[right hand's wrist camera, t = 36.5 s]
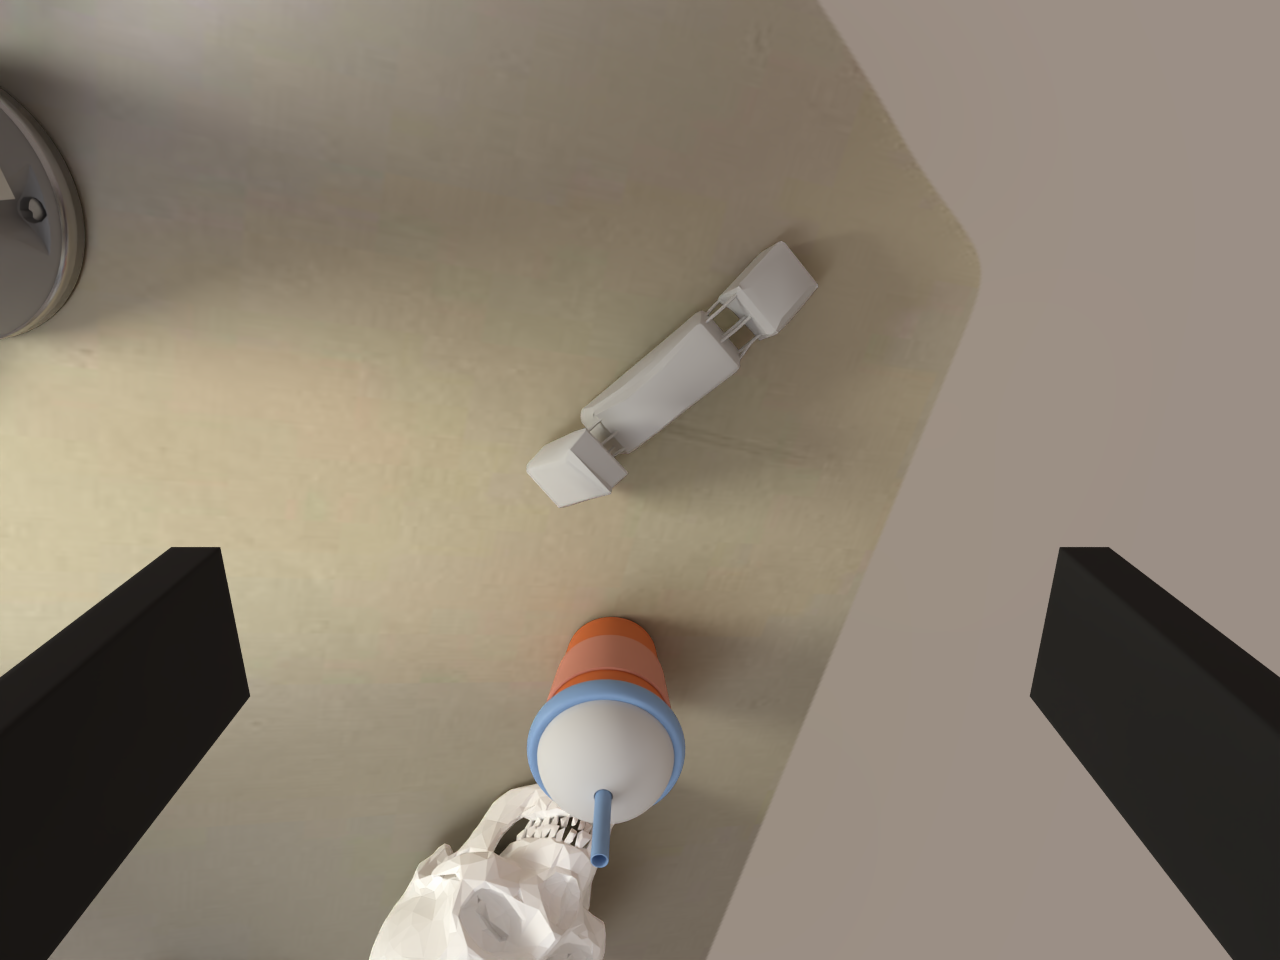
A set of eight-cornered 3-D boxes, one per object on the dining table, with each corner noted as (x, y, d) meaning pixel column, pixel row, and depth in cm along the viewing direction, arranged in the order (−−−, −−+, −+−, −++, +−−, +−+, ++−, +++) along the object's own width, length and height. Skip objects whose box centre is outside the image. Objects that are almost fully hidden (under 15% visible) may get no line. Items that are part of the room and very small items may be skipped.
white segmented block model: (563, 502, 50) (562, 541, 44) (522, 461, 49) (514, 494, 43) (805, 286, 48) (841, 293, 41) (766, 238, 47) (797, 237, 40)
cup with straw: (702, 635, 54) (730, 836, 37) (634, 729, 57) (631, 956, 40) (588, 573, 53) (563, 754, 36) (523, 673, 55) (471, 884, 38)
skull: (672, 807, 59) (675, 1009, 44) (510, 976, 65) (465, 1204, 50) (525, 715, 57) (476, 895, 42) (372, 899, 63) (282, 1114, 48)
